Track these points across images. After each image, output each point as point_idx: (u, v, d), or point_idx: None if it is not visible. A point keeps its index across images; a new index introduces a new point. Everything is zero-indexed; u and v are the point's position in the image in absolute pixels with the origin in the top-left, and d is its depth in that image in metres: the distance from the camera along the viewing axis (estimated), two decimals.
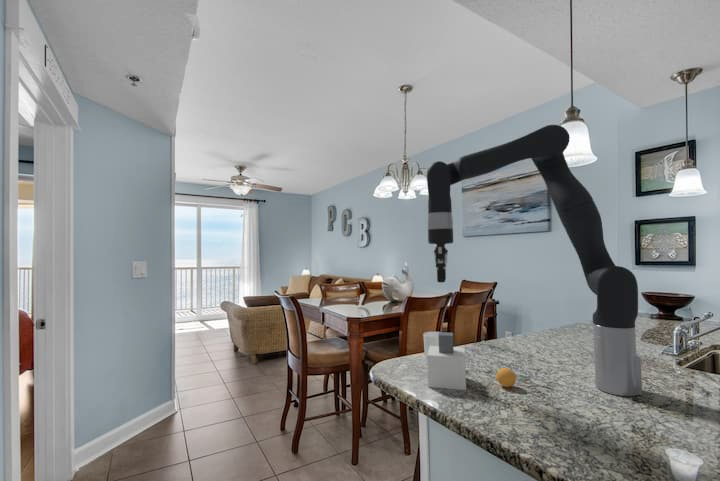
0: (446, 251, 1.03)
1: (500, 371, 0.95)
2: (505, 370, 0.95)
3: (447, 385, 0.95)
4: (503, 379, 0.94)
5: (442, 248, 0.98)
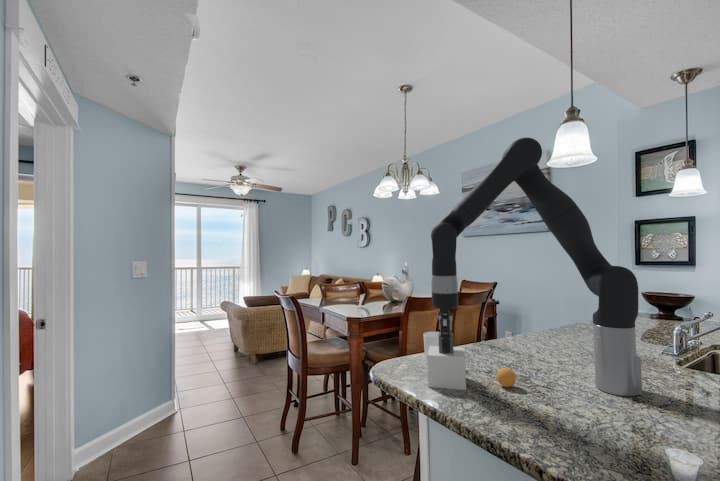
0: (451, 317, 0.98)
1: (500, 371, 0.95)
2: (505, 370, 0.95)
3: (447, 385, 0.95)
4: (503, 379, 0.94)
5: (447, 321, 0.94)
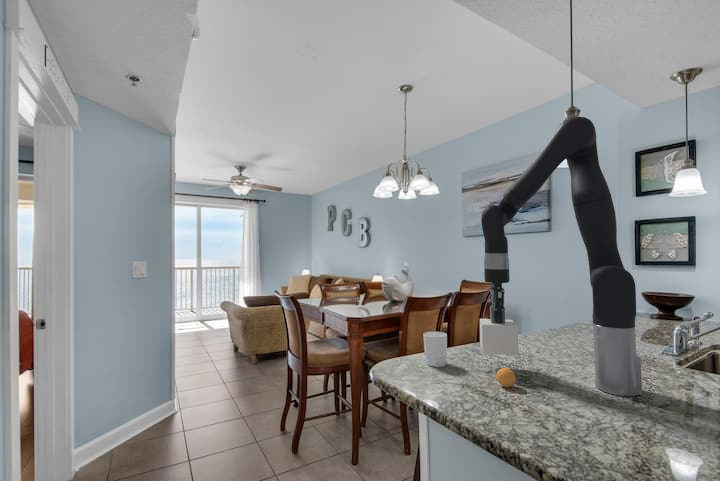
0: (503, 291, 1.08)
1: (500, 371, 0.95)
2: (505, 370, 0.95)
3: (500, 351, 1.05)
4: (503, 379, 0.94)
5: (502, 294, 1.04)
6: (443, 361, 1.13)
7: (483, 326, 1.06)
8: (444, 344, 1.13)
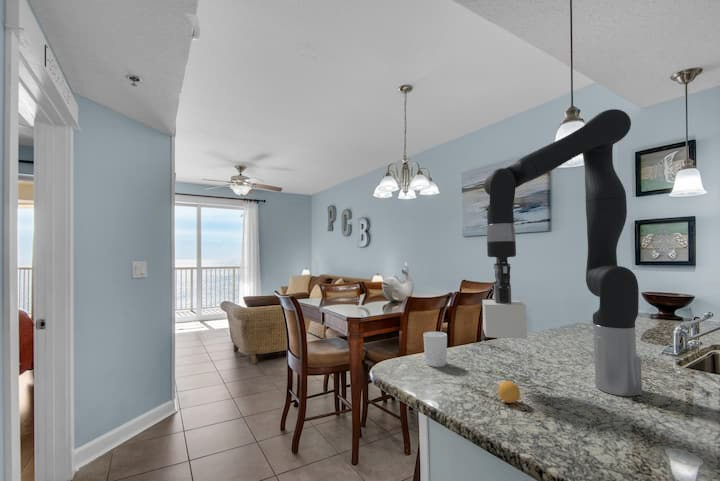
0: None
1: None
2: None
3: (506, 334, 0.92)
4: None
5: (508, 268, 0.91)
6: (443, 361, 1.13)
7: (486, 306, 0.93)
8: (444, 344, 1.13)
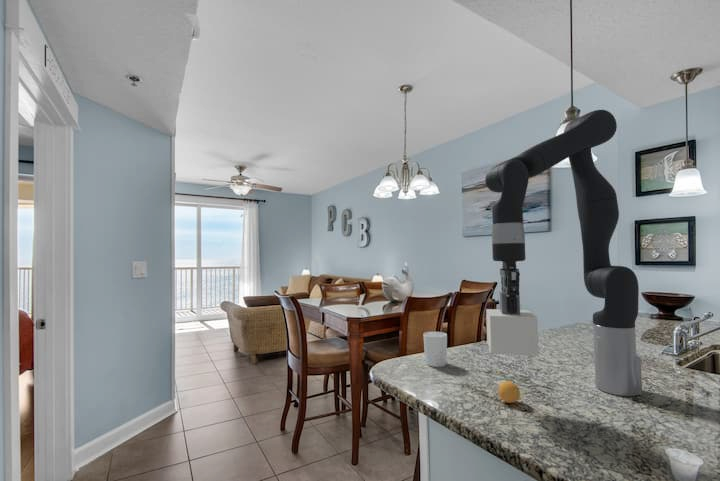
0: None
1: None
2: None
3: (515, 350, 0.80)
4: None
5: (517, 274, 0.79)
6: (443, 361, 1.13)
7: (491, 318, 0.81)
8: (444, 344, 1.13)
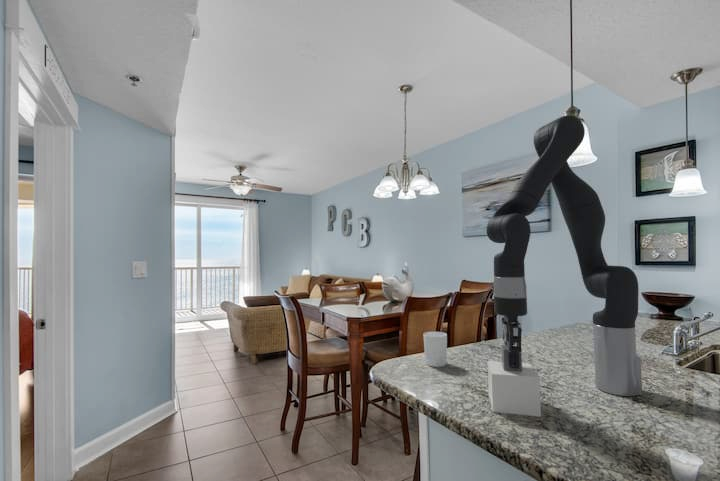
0: (519, 326, 0.82)
1: None
2: None
3: (517, 410, 0.79)
4: None
5: (518, 330, 0.78)
6: (443, 361, 1.13)
7: (493, 376, 0.81)
8: (444, 344, 1.13)
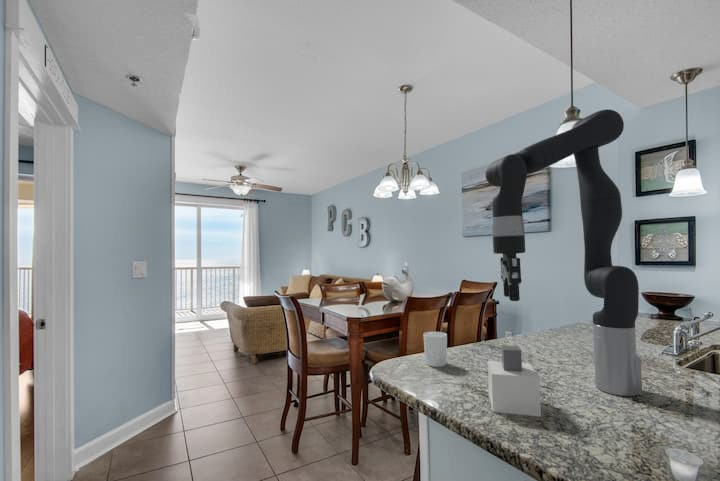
0: None
1: None
2: None
3: (517, 410, 0.79)
4: None
5: (517, 260, 0.81)
6: (443, 361, 1.13)
7: (493, 376, 0.81)
8: (444, 344, 1.13)
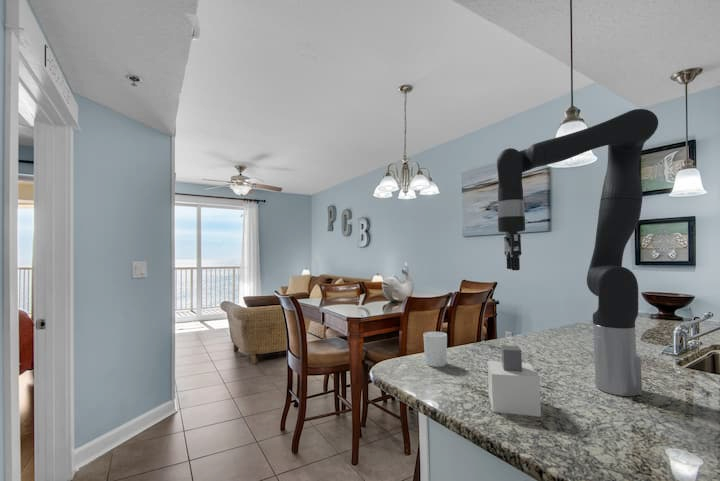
0: None
1: None
2: None
3: (517, 410, 0.79)
4: None
5: (518, 235, 0.97)
6: (443, 361, 1.13)
7: (493, 376, 0.81)
8: (444, 344, 1.13)
